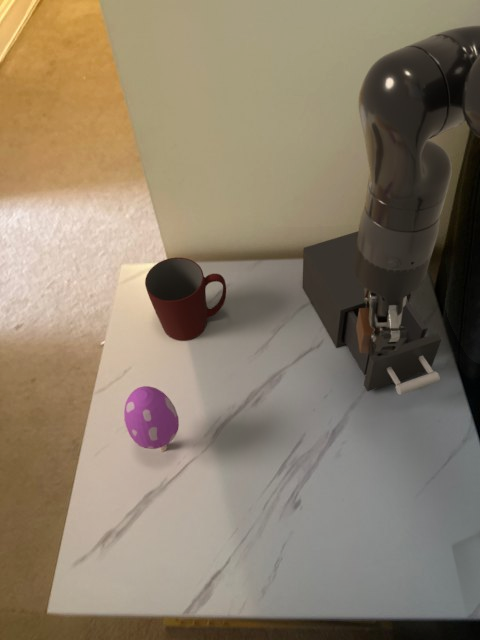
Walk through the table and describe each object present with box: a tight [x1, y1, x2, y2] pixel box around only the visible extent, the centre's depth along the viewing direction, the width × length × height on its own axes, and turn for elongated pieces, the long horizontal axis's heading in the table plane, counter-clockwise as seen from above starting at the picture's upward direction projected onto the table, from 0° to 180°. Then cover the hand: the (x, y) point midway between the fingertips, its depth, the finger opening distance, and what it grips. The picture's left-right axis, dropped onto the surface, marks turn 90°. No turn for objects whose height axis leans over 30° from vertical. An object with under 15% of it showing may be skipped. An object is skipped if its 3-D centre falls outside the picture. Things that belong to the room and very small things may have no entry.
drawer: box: [342, 299, 442, 396], centre depth 82 cm, size 17×10×8 cm, turn 19°
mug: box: [144, 257, 227, 342], centre depth 89 cm, size 12×9×11 cm
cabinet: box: [301, 230, 412, 349], centre depth 89 cm, size 14×12×10 cm
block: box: [356, 308, 393, 353], centre depth 69 cm, size 4×4×4 cm
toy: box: [123, 385, 180, 452], centre depth 74 cm, size 7×7×15 cm
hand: (374, 337), depth 70 cm, fingers closed on block, 4 cm apart
